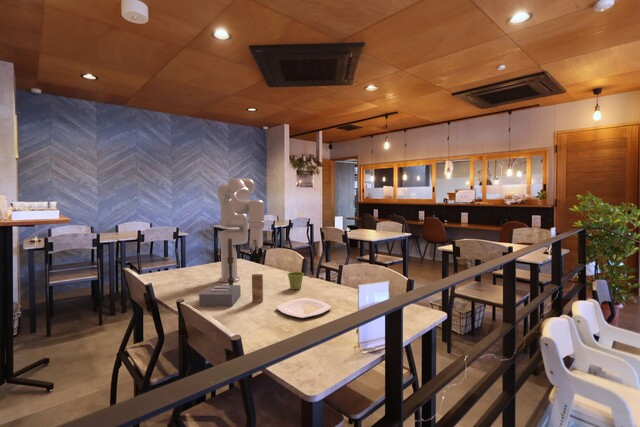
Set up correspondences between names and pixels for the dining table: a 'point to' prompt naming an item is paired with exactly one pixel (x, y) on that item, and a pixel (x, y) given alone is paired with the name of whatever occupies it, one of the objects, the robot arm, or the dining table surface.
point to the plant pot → (295, 279)
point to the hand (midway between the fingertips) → (257, 259)
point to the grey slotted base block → (220, 296)
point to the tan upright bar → (257, 288)
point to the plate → (297, 311)
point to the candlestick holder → (230, 261)
